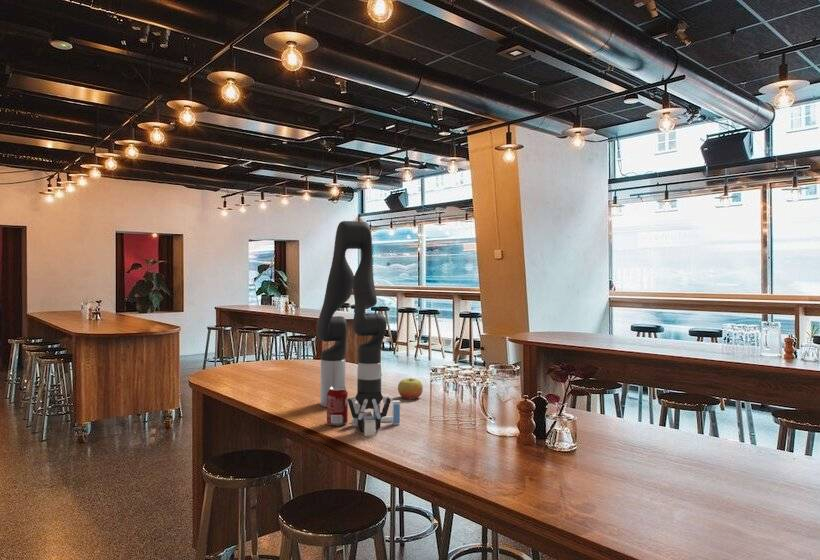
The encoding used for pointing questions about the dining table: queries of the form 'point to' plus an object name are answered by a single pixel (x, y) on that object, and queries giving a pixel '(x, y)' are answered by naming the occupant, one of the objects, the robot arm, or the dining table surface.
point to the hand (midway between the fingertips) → (368, 430)
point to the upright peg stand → (394, 418)
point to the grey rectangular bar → (368, 424)
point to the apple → (410, 388)
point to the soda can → (337, 406)
